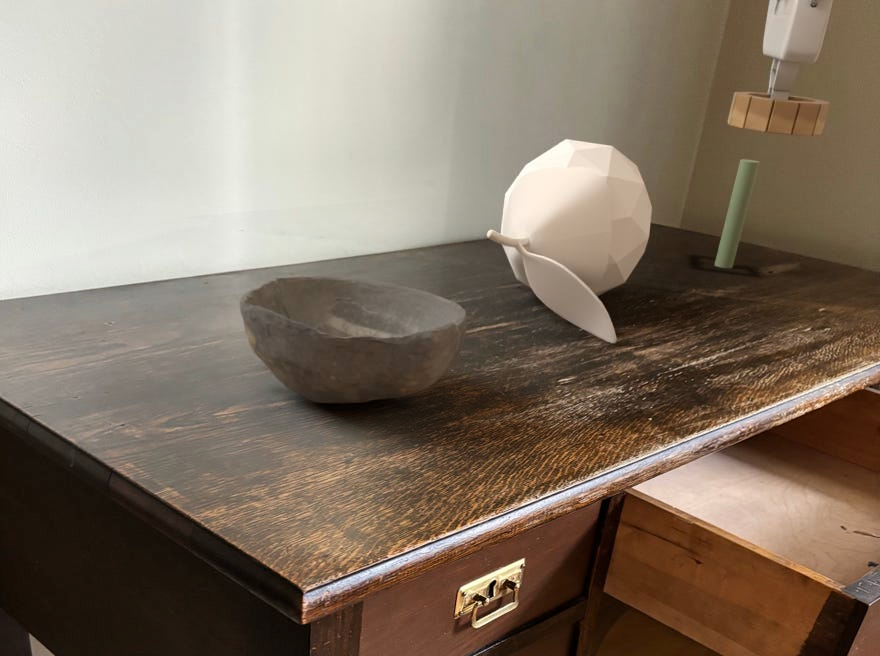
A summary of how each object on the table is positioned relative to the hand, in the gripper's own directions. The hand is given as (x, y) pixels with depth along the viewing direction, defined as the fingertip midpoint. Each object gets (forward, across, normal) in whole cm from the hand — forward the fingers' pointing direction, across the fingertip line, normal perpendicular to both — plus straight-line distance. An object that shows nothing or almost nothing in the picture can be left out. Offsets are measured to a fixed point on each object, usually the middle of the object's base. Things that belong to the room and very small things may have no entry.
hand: (774, 107), depth 108 cm
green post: (+21, +15, 0) cm, 26 cm away
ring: (+2, -4, 0) cm, 5 cm away
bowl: (+21, -53, +34) cm, 66 cm away
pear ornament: (+21, -16, +20) cm, 33 cm away
